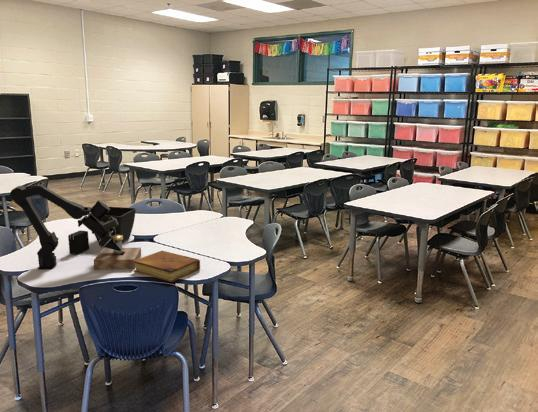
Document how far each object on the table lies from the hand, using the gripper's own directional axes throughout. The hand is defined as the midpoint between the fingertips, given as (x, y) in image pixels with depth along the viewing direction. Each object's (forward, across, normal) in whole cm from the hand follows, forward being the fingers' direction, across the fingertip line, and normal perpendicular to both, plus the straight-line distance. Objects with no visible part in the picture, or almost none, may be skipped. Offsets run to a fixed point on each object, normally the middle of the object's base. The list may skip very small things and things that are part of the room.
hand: (120, 247), depth 217 cm
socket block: (+4, 0, +6) cm, 8 cm away
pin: (+4, 0, +6) cm, 8 cm away
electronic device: (-10, +21, +21) cm, 31 cm away
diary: (+21, -15, -9) cm, 27 cm away
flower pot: (+1, +38, +10) cm, 39 cm away
